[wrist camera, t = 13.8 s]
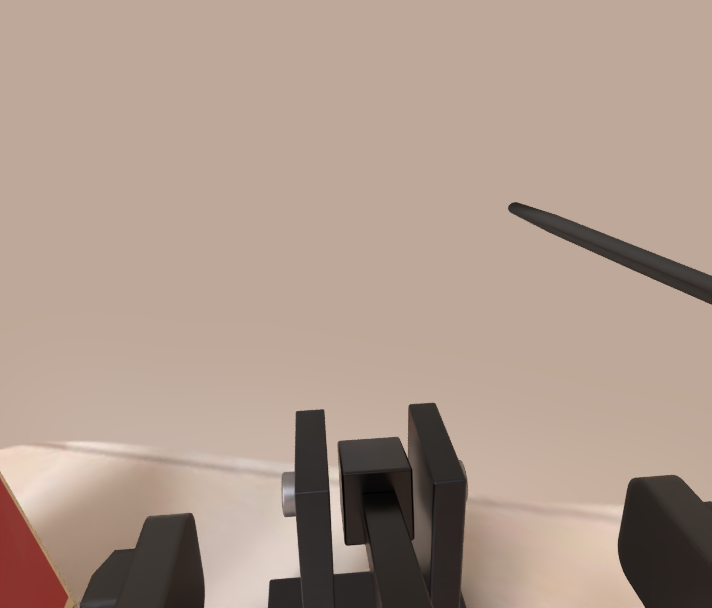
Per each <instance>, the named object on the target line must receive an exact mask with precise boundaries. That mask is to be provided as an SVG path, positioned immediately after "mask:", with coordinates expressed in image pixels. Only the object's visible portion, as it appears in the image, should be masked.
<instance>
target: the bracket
mask: <svg viewBox="0 0 712 608" xmlns="http://www.w3.org/2000/svg"><path fill="white" fill-rule="evenodd" d="M408 410H409V411H408V460H409V462H410V465H411V467H412V470H413V500H414V532H415V538H414V540H411V541H412V544H413V547H414V550H415V554H416V557H417V560H418V563H419V566H420V569H421V572H422V575H423V579H424V582H425V585H426V588H427V591H428V594H429V597H430V600H431V603H432V607H433V608H466V605H465V602H464V599H463V595H462V592H461V576H462V558H463V541H464V523H465V505H466V501H467V497H468V485H467V484H468V483H467V476H466V471H465V468H464V465H463V463H462V461H461V460H458V458H457V455H456V453H455V450H454V448H453V445H452V443H451V440H450V438H449V436H448V433H447V431H446V429H445V426H444V424H443V421H442V418H441V416H440V413H439V411H438V408H437V406H436V404H435V403H424V404H423V403H422V404H410V405H409V409H408ZM282 507H283V515H284V517H292V516H296V522H297V536H298V549H299V562H300V575H301V577H298V578H286V579H274V580H270V584H269V599H268V608H376V602H375V597H374V591H373V585H372V579H371V574H370V571H368V572H356V573H345V574H334V573H333V553H332V532H331V511H330V491H329V475H328V461H327V445H326V430H325V414H324V410H323V409H322V410H307V411H297V412H296V435H295V472H284V473H283V474H282Z"/></svg>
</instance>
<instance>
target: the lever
mask: <svg viewBox="0 0 712 608" xmlns="http://www.w3.org/2000/svg"><path fill="white" fill-rule="evenodd" d="M338 463H339V484H340V504H341V513H342V523H343V532H344V541H345V544H346V545H347V546H349V545H361V544H365V545H366V550H367V556H368V562H369V568H370V574H371V579H372V585H373V591H374V597H375V602H376V608H433V607H432V603H431V600H430V597H429V594H428V591H427V588H426V585H425V582H424V579H423V575H422V572H421V569H420V566H419V563H418V560H417V557H416V554H415V550H414V547H413V544H412V541H411V540H414V538H415V532H414V500H413V470H412V467H411V465H410V462H409V460H408V458H407V455H406V453H405V451H404V448H403V446H402V443H401V441H400V439H399V438H398V437H389V438H375V439H362V440H361V439H360V440H346V441H339V442H338Z"/></svg>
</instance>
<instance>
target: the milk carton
mask: <svg viewBox="0 0 712 608" xmlns="http://www.w3.org/2000/svg"><path fill="white" fill-rule="evenodd" d="M74 604H75V601H74V599H73V597H72V595H71V594H70V592H69V590H68V588H67V587H66V585H65V583H64V581H63V580H62V578H61V576H60V574H59V573H58V571H57V569H56V567H55V566H54V564H53V562H52V560H51V559H50V557H49V555H48V553H47V552H46V550H45V548H44V546H43V545H42V543H41V541H40V539H39V538H38V536H37V534H36V532H35V531H34V529H33V527H32V525H31V524H30V522H29V520H28V518H27V517H26V515H25V513H24V511H23V510H22V508H21V506H20V505H19V503H18V501H17V499H16V498H15V496H14V494H13V493H12V491H11V489H10V487H9V486H8V484H7V482H6V481H5V479H4V477H3V475H2V474H1V472H0V608H73V606H74Z"/></svg>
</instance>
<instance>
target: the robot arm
mask: <svg viewBox="0 0 712 608" xmlns="http://www.w3.org/2000/svg"><path fill="white" fill-rule="evenodd" d="M508 210H509V211H510V212H511V213H513V214H515V215H517V216H518V217H520V218H522V219H524V220H527V221H528V222H530V223H532V224H534V225H536V226H538V227H540V228H542V229H544V230H546V231H547V232H549V233H552V234H554V235H556V236H558V237H561V238H563V239H565V240H567V241H569V242H572V243H574V244H576V245H578V246H581V247H583V248H585V249H587V250H590V251H592V252H594V253H596V254H598V255H601V256H603V257H605V258H608V259H610V260H612V261H614V262H616V263H619V264H621V265H623V266H626V267H628V268H630V269H632V270H634V271H637V272H639V273H641V274H643V275H645V276H648V277H650V278H652V279H654V280H657V281H659V282H661V283H664V284H666V285H668V286H670V287H673V288H675V289H677V290H680V291H682V292H684V293H687V294H689V295H691V296H693V297H696V298H698V299H700V300H703V301H705V302H707V303H709V304H712V276H711V275H708V274H705V273H703V272H700V271H698V270H695V269H693V268H690V267H688V266H685V265H682V264H680V263H677V262H675V261H672V260H670V259H667V258H665V257H662V256H659V255H657V254H654V253H652V252H649V251H647V250H644V249H642V248H639V247H636V246H634V245H631V244H629V243H626V242H624V241H621V240H619V239H616V238H614V237H611V236H609V235H606V234H604V233H601V232H598V231H596V230H593V229H590V228H588V227H586V226H583V225H580V224H578V223H576V222H573V221H570V220H568V219H565V218H562V217H560V216H557V215H555V214H552V213H549V212H545V211H542V210H539V209H536V208H533V207H529V206H526V205H523V204H520V203H517V202H515V203H511V204H510V205H509V207H508ZM618 554H619V559H620V563H621V567H622V569H623V572H624V574H625V576H626V578H627V579H628V581H629V583H630V584H631V586H632V587H633V589H634V591H635V592H636V594H637V595H638V597H639V598H640V600H641V601H642V603H643V605H644V606H645V608H712V502H711V501H710V502H703V501H702V500H701V499H700V498H699V497H698V496H697V495H696V494H695V493H694V492H693V490H692V489H691V488H690V487H689V486H688V485H687V484H686V483H685V482H684V481H683V480H682V479H681V478H679V477H678V476H675V475H665V476H653V477H639V478H633V479H632V480H631V481H630V482H629V485H628V488H627V493H626V499H625V505H624V510H623V516H622V521H621V527H620V532H619V538H618ZM204 600H205V586H204V575H203V569H202V562H201V556H200V550H199V544H198V537H197V531H196V525H195V520H194V516H193V514H192V513H184V514H171V515H158V516H149V517H147V519H146V520H145V522H144V525H143V528H142V531H141V533H140V536H139V539H138V542H137V545H136V548H135V549H125V550H115V551H114V552H113V553H112V554H111V555H110V556H109V557H108V559H107V560H106V561H105V562H104V563H103V564H102V565H101V566H100V567H99V569H98V570H97V571H96V572H95V573H94V574H93V575H92V577H91V579H90V582H89V584H88V587H87V589H86V591H85V594H84V596H83V598H82V601H81V603H80V608H204Z"/></svg>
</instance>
